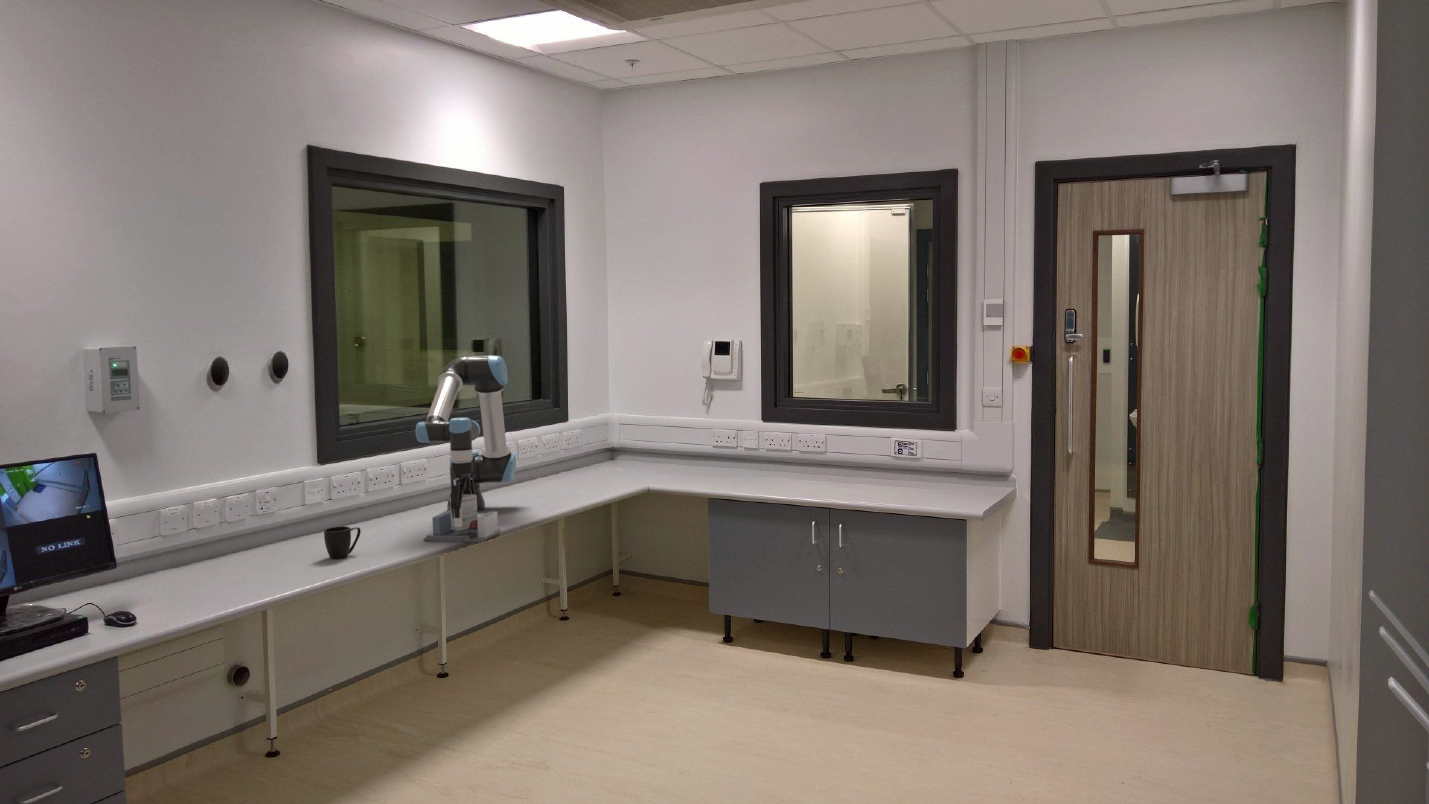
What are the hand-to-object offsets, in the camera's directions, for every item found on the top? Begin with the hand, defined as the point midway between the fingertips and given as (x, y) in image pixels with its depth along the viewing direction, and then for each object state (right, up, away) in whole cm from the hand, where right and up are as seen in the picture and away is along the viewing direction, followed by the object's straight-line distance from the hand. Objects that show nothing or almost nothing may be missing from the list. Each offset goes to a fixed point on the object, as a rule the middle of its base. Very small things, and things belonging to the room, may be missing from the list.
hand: (464, 523), depth 358 cm
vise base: (-1, -5, +1) cm, 5 cm away
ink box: (0, -2, 0) cm, 2 cm away
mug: (-34, -8, -25) cm, 43 cm away
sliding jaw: (-8, -3, +2) cm, 9 cm away
